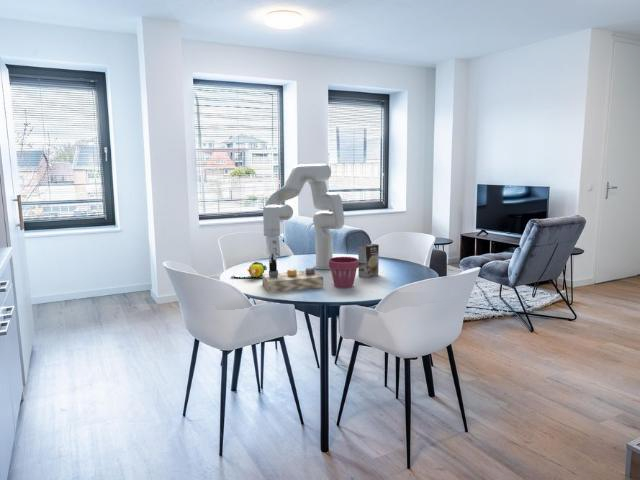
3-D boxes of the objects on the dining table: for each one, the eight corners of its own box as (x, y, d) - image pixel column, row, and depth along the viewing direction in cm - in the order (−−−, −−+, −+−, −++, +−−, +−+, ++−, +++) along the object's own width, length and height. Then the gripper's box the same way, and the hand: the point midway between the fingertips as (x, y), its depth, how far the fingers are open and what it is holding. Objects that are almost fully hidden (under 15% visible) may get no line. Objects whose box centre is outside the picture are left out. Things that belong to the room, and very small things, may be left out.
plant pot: (363, 287, 223) (363, 260, 221) (334, 290, 219) (334, 263, 217) (352, 281, 236) (352, 255, 234) (325, 283, 232) (324, 257, 230)
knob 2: (313, 279, 234) (313, 267, 233) (316, 281, 230) (315, 269, 229) (304, 280, 233) (304, 268, 232) (307, 282, 229) (306, 270, 228)
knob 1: (277, 281, 229) (277, 269, 228) (279, 283, 225) (278, 271, 224) (268, 282, 228) (267, 270, 227) (270, 284, 224) (269, 272, 223)
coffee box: (367, 278, 242) (367, 246, 239) (358, 276, 246) (357, 245, 244) (379, 275, 248) (378, 244, 246) (369, 273, 252) (369, 243, 250)
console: (313, 279, 241) (313, 270, 240) (323, 287, 225) (323, 276, 225) (262, 284, 233) (262, 274, 232) (269, 292, 218) (268, 281, 217)
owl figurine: (225, 264, 242) (234, 259, 257) (226, 281, 243) (235, 275, 258) (280, 264, 239) (285, 259, 254) (280, 281, 240) (286, 275, 255)
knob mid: (295, 280, 232) (295, 269, 231) (297, 282, 228) (297, 271, 227) (286, 281, 230) (286, 270, 230) (288, 283, 226) (288, 271, 225)
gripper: (283, 233, 217) (284, 273, 219) (276, 230, 231) (277, 267, 233) (267, 234, 214) (268, 274, 217) (261, 230, 229) (262, 268, 231)
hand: (273, 270), depth 225 cm, fingers closed
